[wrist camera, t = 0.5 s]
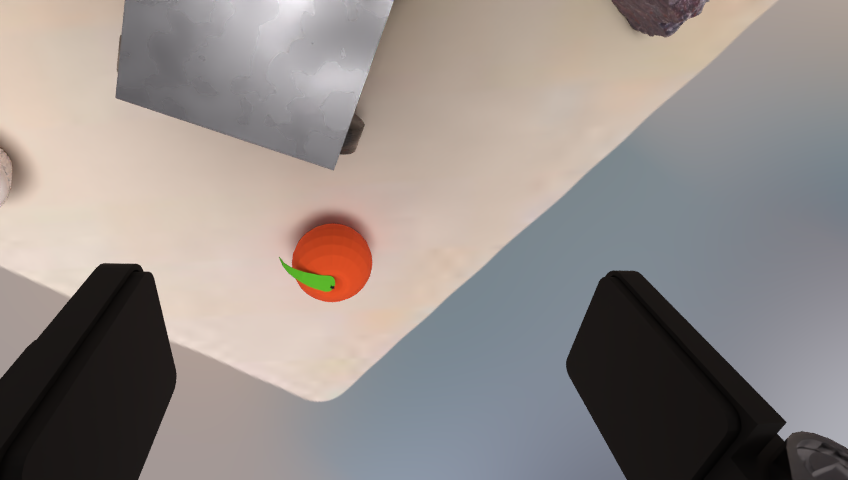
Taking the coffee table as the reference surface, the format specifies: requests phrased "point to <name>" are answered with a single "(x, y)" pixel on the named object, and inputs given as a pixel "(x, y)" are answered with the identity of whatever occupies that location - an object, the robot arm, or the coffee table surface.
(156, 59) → the trolley
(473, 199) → the coffee table surface
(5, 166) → the white lidded jar
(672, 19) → the stone
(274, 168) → the coffee table surface
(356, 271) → the clementine
